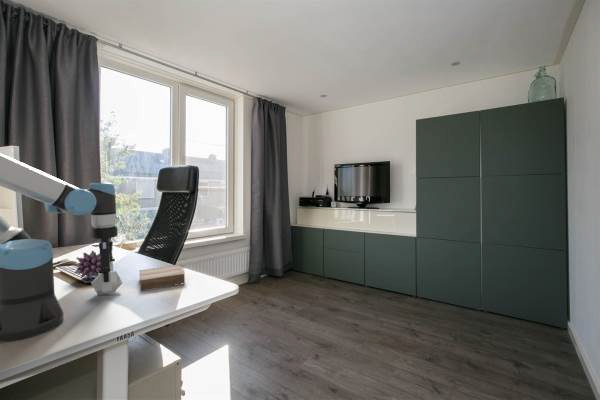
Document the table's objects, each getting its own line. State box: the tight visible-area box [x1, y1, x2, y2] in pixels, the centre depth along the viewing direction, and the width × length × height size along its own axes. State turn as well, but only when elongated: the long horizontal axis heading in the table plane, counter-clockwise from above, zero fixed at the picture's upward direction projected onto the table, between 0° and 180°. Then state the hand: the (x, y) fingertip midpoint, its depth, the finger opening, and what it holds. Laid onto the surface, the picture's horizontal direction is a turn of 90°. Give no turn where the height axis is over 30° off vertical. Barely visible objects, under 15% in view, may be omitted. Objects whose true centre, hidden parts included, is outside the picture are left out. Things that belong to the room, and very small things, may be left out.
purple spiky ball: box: [73, 250, 101, 279], centre depth 125 cm, size 12×12×12 cm
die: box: [90, 270, 123, 296], centre depth 107 cm, size 8×9×10 cm
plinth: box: [139, 264, 185, 292], centre depth 119 cm, size 15×15×4 cm
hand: (108, 285), depth 107 cm, fingers open, 13 cm apart
